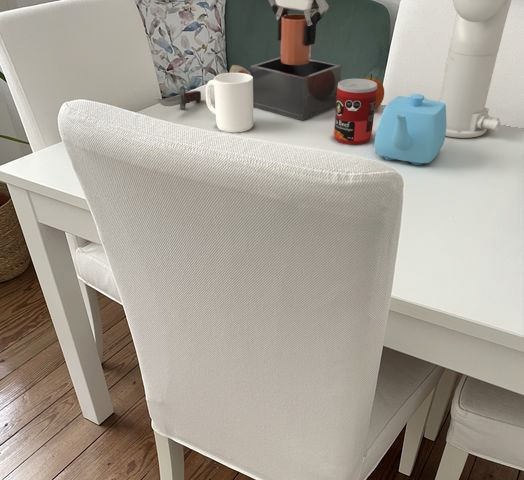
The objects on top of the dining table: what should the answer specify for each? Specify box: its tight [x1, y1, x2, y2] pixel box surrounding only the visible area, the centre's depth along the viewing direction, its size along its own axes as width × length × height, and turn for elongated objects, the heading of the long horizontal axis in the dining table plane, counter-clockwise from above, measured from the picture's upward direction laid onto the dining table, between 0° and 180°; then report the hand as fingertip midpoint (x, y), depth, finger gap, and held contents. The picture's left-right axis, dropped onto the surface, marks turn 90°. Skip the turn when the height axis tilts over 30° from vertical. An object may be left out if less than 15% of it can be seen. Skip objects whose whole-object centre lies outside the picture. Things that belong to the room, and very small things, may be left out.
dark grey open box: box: [249, 56, 342, 122], centre depth 135 cm, size 16×14×9 cm
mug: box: [228, 64, 250, 75], centre depth 143 cm, size 8×10×10 cm
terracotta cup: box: [279, 13, 312, 65], centre depth 128 cm, size 7×7×9 cm
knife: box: [156, 87, 202, 110], centre depth 134 cm, size 17×1×5 cm, turn 152°
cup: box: [205, 72, 255, 133], centre depth 125 cm, size 8×12×10 cm
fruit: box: [364, 73, 385, 110], centre depth 133 cm, size 7×7×8 cm
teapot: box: [373, 93, 447, 166], centre depth 109 cm, size 12×18×12 cm
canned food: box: [333, 78, 377, 146], centre depth 117 cm, size 8×8×11 cm
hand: (296, 41), depth 129 cm, fingers closed on terracotta cup, 6 cm apart
